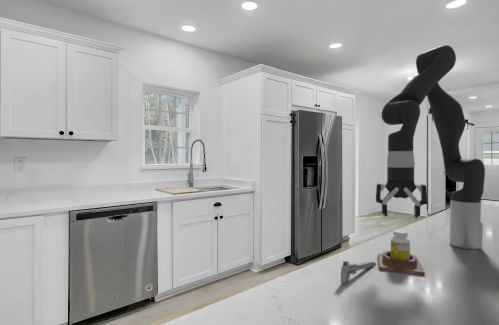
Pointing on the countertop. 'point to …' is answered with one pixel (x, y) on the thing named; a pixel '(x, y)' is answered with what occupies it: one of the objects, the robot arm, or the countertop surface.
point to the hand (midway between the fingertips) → (400, 216)
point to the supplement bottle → (400, 245)
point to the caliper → (353, 269)
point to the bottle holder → (400, 264)
